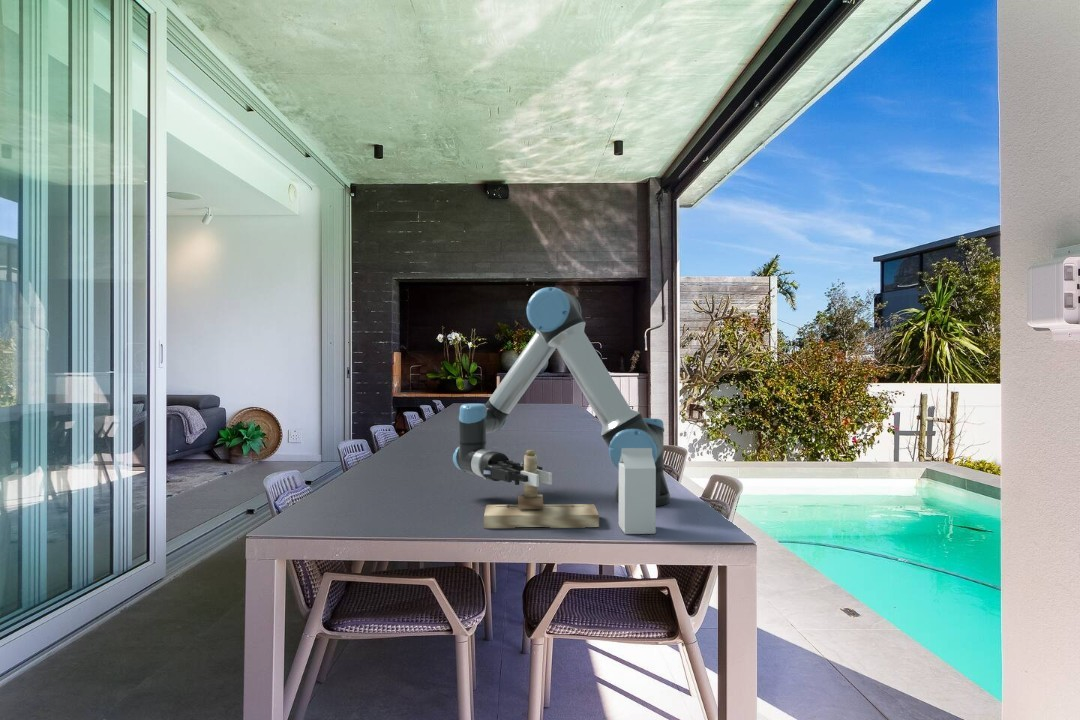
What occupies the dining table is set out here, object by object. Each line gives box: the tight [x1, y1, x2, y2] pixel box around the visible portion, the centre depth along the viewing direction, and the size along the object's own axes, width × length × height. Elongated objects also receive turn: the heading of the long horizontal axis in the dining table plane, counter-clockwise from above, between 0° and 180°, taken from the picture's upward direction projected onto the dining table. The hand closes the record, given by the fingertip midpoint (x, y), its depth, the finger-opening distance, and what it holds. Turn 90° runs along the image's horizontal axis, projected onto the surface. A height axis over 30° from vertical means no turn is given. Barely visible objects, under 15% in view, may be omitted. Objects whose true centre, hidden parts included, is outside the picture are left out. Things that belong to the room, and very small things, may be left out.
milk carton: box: [618, 448, 657, 535], centre depth 137 cm, size 7×7×19 cm
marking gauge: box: [517, 449, 544, 509], centre depth 144 cm, size 6×4×14 cm, turn 92°
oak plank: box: [483, 503, 600, 529], centre depth 143 cm, size 27×10×3 cm, turn 92°
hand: (544, 479), depth 139 cm, fingers closed on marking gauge, 3 cm apart
